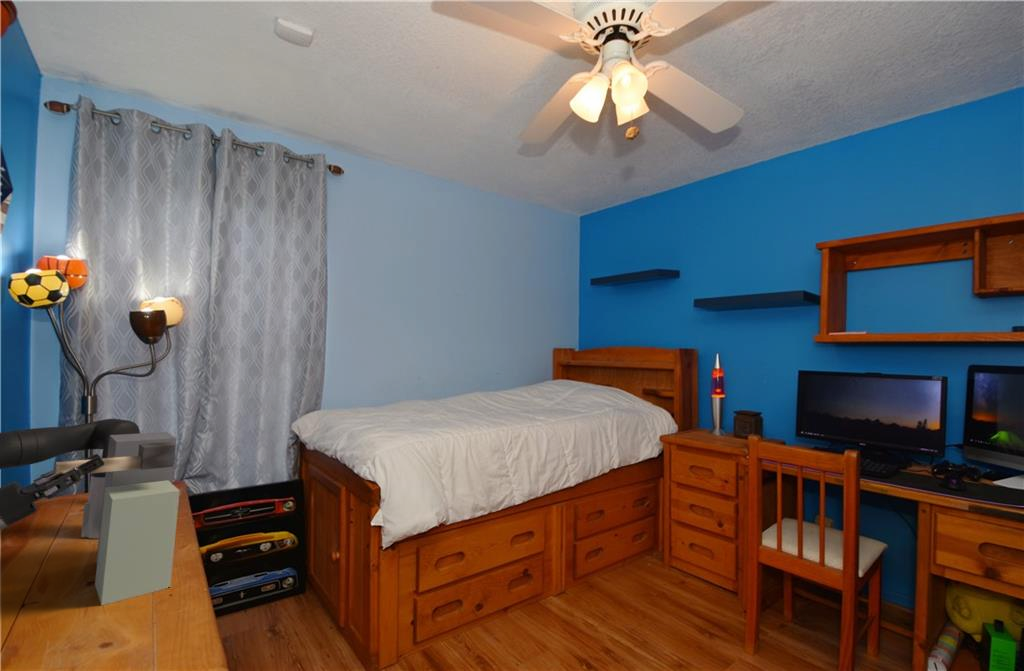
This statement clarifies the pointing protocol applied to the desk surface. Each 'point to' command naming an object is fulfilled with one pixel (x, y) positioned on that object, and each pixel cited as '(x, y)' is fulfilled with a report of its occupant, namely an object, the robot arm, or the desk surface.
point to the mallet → (131, 459)
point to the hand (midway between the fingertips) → (100, 458)
